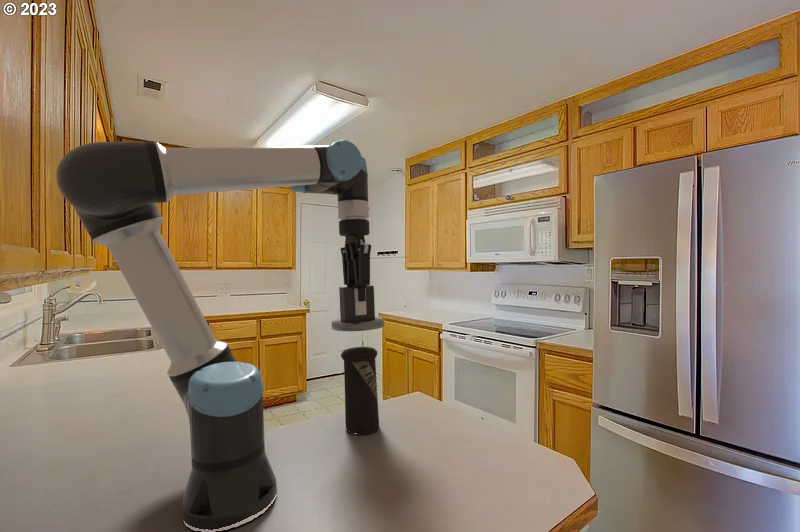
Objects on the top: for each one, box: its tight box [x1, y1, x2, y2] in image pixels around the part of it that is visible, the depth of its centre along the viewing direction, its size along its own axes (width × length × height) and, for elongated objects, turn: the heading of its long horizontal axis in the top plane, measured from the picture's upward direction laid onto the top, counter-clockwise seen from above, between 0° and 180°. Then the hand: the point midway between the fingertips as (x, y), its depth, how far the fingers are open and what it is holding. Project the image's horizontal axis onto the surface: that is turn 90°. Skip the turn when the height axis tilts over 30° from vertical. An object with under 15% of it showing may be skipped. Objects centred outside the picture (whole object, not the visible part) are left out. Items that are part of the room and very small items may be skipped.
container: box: [340, 346, 380, 435], centre depth 97 cm, size 9×9×20 cm
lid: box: [331, 284, 385, 332], centre depth 97 cm, size 13×13×10 cm
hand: (357, 313), depth 97 cm, fingers closed on lid, 3 cm apart
